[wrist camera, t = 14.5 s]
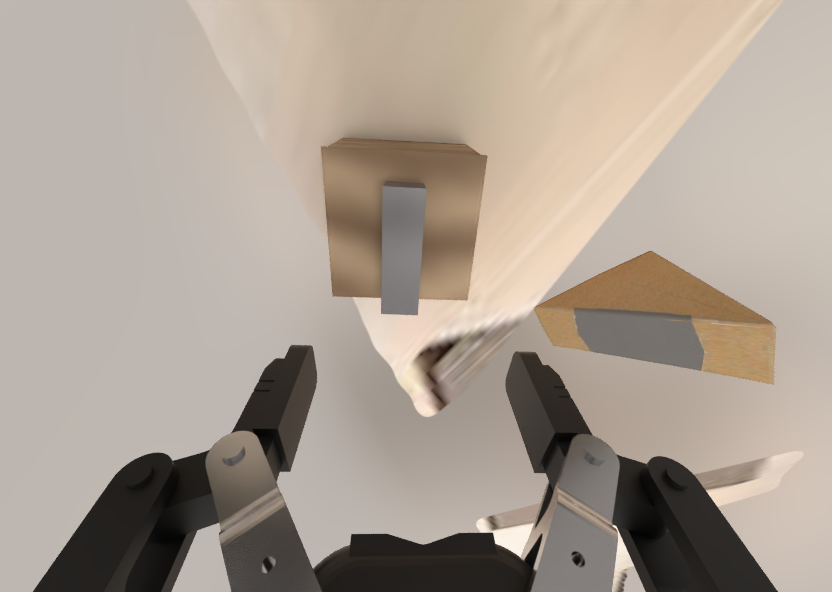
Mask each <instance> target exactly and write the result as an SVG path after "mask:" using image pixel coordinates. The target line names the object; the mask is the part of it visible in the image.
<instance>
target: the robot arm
mask: <svg viewBox="0 0 832 592" xmlns="http://www.w3.org/2000/svg"><path fill="white" fill-rule="evenodd" d="M316 383H317V371H316V364H315V358H314V351H313V347H312V346H307V345H292V346H290V348H289V350H288V352H287V354H286V356H285V359H279V358H278V359H275V360H274V361H273V362H271V363H270V364H269V365H268V366H267V367H266V368H265V370H264V371H263V373H262V375H261V377H260V379H259V382H258V383H257V385H256V387H255V389H254V392H253V393H252V395H251V397H250V399H249V401H248V402H247V404H246V406H245V408H244V410H243V412H242V414H241V416H240V418H239V420H238V422H237V424H236V426H235V428H234V429H233V431H232V432H231V433H230V434H228V435H226V436H224V437H223V438H221V439H220V440H219V441H218V442H216V443H215V444H214V445H213V447H212V448H211V449H210V450H208V451H206V452H203V453H200V454H196V455H193V456H189V457H185V458H182V459H178V460H175V461H172V459H171V458H170V457H169V456H168V455H166V454H164V453H151V454H147V455H144V456H141V457H139V458H137V459H135V460H133V461H132V462H130V463H129V464H127V465H126V466H125V467H123V468H122V469H121V470H120V471H119V472H118V473H117V474H116V475H115V476H114V478H113V479H112V480H111V482H110V483H109V484H108V486H107V488H106V489H105V490H104V492H103V493H102V494H101V496H100V497H99V499H98V500H97V501H96V503H95V504H94V506H93V507H92V509H91V510H90V511H89V513H88V514H87V516H86V517H85V519H84V520H83V521H82V523H81V524H80V526H79V527H78V528H77V530H76V531H75V533H74V534H73V536H72V537H71V538H70V540H69V541H68V543H67V544H66V546H65V547H64V548H63V550H62V551H61V553H60V554H59V555H58V557H57V558H56V560H55V561H54V562H53V564H52V565H51V567H50V568H49V570H48V571H47V573H46V574H45V575H44V577H43V578H42V580H41V581H40V582H39V584H38V585H37V587H36V588H35V590H34V591H33V592H171V591H172V589H173V586H174V584H175V582H176V579H177V577H178V575H179V572H180V569H181V567H182V565H183V563H184V560H185V558H186V556H187V553H188V551H189V549H190V546H191V544H192V542H193V539H194V537H195V534H196V532H197V530H199V529H202V528H205V527H208V526H211V525H213V524H216V523H220V527H221V532H220V533H219V539H220V545H221V549H222V553H223V558H224V562H225V566H226V570H227V575H228V579H229V583H230V587H231V592H612V585H613V577H614V568H615V560H616V552H617V543H618V532H617V530H616V529H615V528H614V527H612V524H613V525H615V526H617V528H618V530H619V533H620V535H621V537H622V539H623V542H624V544H625V546H626V548H627V551H628V553H629V555H630V557H631V560H632V562H633V564H634V566H635V568H636V571H637V573H638V575H639V577H640V580H641V582H642V584H643V586H644V589H645V591H646V592H778V591H777V590H776V589H775V587H774V586H773V584H772V583H771V582H770V580H769V579H768V577H767V576H766V574H765V573H764V572H763V570H762V569H761V567H760V566H759V565H758V563H757V562H756V561H755V559H754V558H753V556H752V555H751V554H750V552H749V551H748V549H747V548H746V546H745V545H744V544H743V542H742V541H741V539H740V538H739V537H738V535H737V534H736V533H735V531H734V530H733V528H732V527H731V526H730V524H729V523H728V521H727V520H726V518H725V517H724V516H723V514H722V513H721V511H720V510H719V509H718V507H717V506H716V504H715V503H714V502H713V500H712V499H711V497H710V496H709V495H708V493H707V492H706V490H705V489H704V488H703V486H702V485H701V483H700V482H699V481H698V479H697V478H696V477H695V476H694V475H693V474H692V473H691V472H690V471H689V470H688V469H687V468H685V467H684V466H683V465H681V464H680V463H678V462H676V461H674V460H672V459H669V458H666V457H661V456H657V457H653V458H652V459H651V460H650V461H649V462H648V463H647V464H645V463H642V462H638V461H635V460H632V459H628V458H625V457H622V456H619V455H617V454H616V453H615V452H614V451H613V449H612V448H611V447H610V446H609V445H608V444H607V443H605V442H604V441H603V440H601V439H599V438H598V437H595V436H593V435H592V433H591V432H590V430H589V428H588V426H587V425H586V423H585V421H584V419H583V417H582V416H581V414H580V412H579V410H578V408H577V407H576V405H575V403H574V401H573V400H572V398H571V397H570V394H569V392H568V391H567V389H565V385H564V384H563V381H562V380H561V378H560V376H559V375H558V374H557V373H556V372H555V371H554V370H553V369H552V368H551V367H550V366H549V365H542V363H541V361H540V359H539V357H538V355H537V354H536V353H535V352H515V353H514V355H513V358H512V361H511V364H510V367H509V370H508V374H507V377H506V392H507V395H508V398H509V401H510V404H511V407H512V409H513V412H514V415H515V418H516V421H517V424H518V426H519V429H520V432H521V435H522V438H523V441H524V444H525V447H526V450H527V453H528V455H529V458H530V461H531V464H532V467H533V470H534V473H546V475H547V477H548V480H549V482H548V484H547V487H546V489H545V492H544V495H543V498H542V501H541V504H540V507H539V510H538V513H537V516H536V519H535V522H534V525H533V528H532V531H531V534H530V536H529V539H528V541H527V543H526V545H525V548H524V550H523V553H522V555H521V558H520V557H519V556H517V555H516V554H515V553H513V552H511V551H510V550H508V549H506V548H504V547H502V546H500V545H497V544H495V540H494V536H493V533H458V534H455V535H452V536H449V537H446V538H444V539H440V540H438V541H435V542H432V543H429V544H425V545H422V544H418V543H414V542H412V541H408V540H405V539H401V538H398V537H395V536H392V535H389V534H352V535H351V542H350V545H349V546H346V547H343V548H341V549H340V550H337V551H335V552H333V553H332V554H330V555H329V556H327V557H326V558H325V559H324V560H322V561H321V562H320V563H319V564H318V565H317V566H316V567H315V568H314V569H312V566H311V564H310V562H309V559H308V557H307V554H306V552H305V549H304V547H303V544H302V542H301V539H300V537H299V535H298V532H297V530H296V527H295V525H294V523H293V520H292V518H291V515H290V513H289V510H288V508H287V506H286V503H285V501H284V498H283V496H282V494H281V493H280V490H279V488H278V485H277V483H276V482H277V478H278V476H279V473H280V472H290V470H291V467H292V464H293V461H294V457H295V454H296V451H297V448H298V444H299V441H300V438H301V434H302V431H303V428H304V425H305V421H306V418H307V415H308V412H309V408H310V405H311V402H312V399H313V395H314V392H315V389H316Z"/></svg>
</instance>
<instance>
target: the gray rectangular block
mask: <svg viewBox="0 0 832 592" xmlns="http://www.w3.org/2000/svg"><path fill="white" fill-rule="evenodd" d="M425 202H426V187H425V185H424V183H410V182H393V181H385V183H384V185H383V199H382V293H381V314H402V315H418V302H419V287H420V273H421V259H422V245H423V231H424V216H425Z"/></svg>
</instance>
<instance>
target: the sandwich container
mask: <svg viewBox="0 0 832 592" xmlns="http://www.w3.org/2000/svg"><path fill="white" fill-rule="evenodd" d="M534 311H535V313H536V315H537V317H538V319H539V322H540V324H541V326H542V328H543V330H544V331H545V333H546V335H547V336H548V338H549V339H550V341H551V343H552V344H553V346H558V347H565V348H571V349H578V350H584V351H590V352H596V353H603V354H608V355H614V356H621V357H626V358H632V359H637V360H643V361H648V362H654V363H661V364H667V365H673V366H678V367H684V368H689V369H694V370H700V371H705V372H711V373H716V374H721V375H727V376H732V377H738V378H743V379H748V380H753V381H758V382H764V383H769V384H774V357H775V339H776V326H775V325H774V324H773V323H772V322H771V321H769V320H768V319H766V318H764V317H762V316H761V315H759V314H757V313H756V312H754V311H752V310H751V309H749V308H747V307H746V306H744V305H742V304H740V303H739V302H737V301H735V300H734V299H732V298H730V297H728V296H727V295H725V294H724V293H722V292H720V291H719V290H717V289H715V288H713V287H712V286H710V285H708V284H707V283H705V282H703V281H701V280H700V279H698V278H696V277H695V276H693V275H691V274H690V273H688V272H686V271H684V270H683V269H681V268H679V267H678V266H676V265H675V264H673V263H671V262H669V261H668V260H666V259H664V258H663V257H661V256H659V255H657V254H656V253H654V252H652V251H648V252H646V253H644V254H642V255H640V256H637V257H635V258H633V259H631V260H629V261H627V262H624V263H622V264H620V265H618V266H616V267H614V268H611V269H609V270H607V271H605V272H603V273H601V274H598V275H596V276H595V277H593V278H591V279H589V280H587V281H585V282H583V283H581V284H579V285H577V286H575V287H573V288H571V289H569V290H567V291H565V292H563V293H561V294H559V295H557V296H555V297H553V298H551V299H549V300H547V301H545V302H543V303H541V304H539V305H537V306H536V307H535V308H534Z"/></svg>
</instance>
